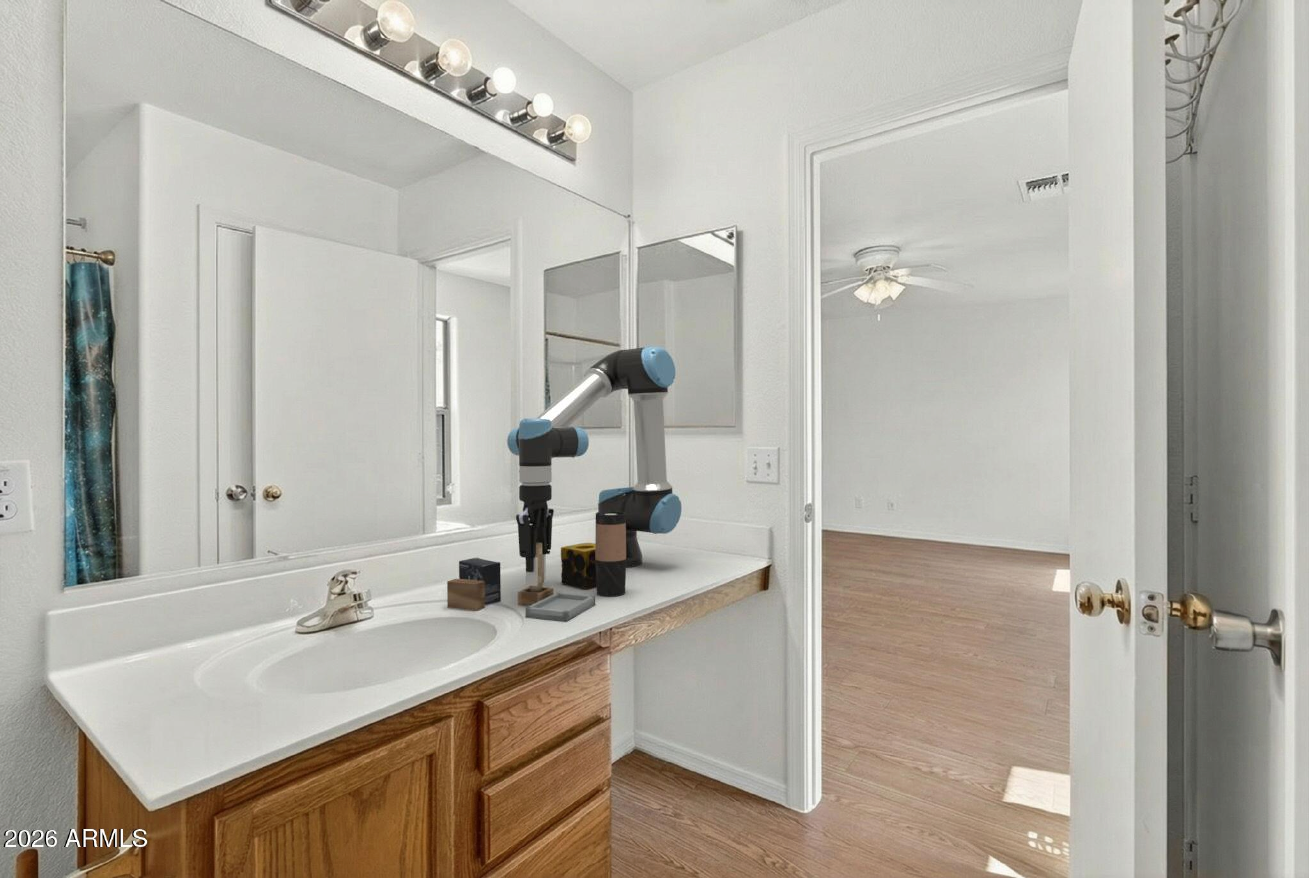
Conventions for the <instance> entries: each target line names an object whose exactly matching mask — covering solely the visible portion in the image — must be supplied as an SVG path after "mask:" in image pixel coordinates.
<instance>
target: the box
mask: <svg viewBox="0 0 1309 878" xmlns="http://www.w3.org/2000/svg"><path fill="white" fill-rule="evenodd" d="M458 579H466V580H476V581H485V606H488V605H491V604H494V603H495V604H496V603H499V602H501V599H502V597H501V595H502V594H501V592H502V590H501V589H502V588H501V583H502V582H501V562H499V561H492V560H487V559H482V558H480V557H473V558H468V559H467V558H466V559H464V560H463V559H462V560H459V561H458Z"/></svg>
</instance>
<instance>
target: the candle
mask: <svg viewBox="0 0 1309 878" xmlns="http://www.w3.org/2000/svg"><path fill="white" fill-rule="evenodd" d="M595 560H596V559H595V543H594V542H584V543H578V544H571V545H565V546H562V547H560V561H561V573H560V577H561V584H562V585H565V586H568V587H569V586H570V587H572V588H579V589H580V590H590V589H591V590H592V589H595V588H596V562H595Z"/></svg>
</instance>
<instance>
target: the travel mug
mask: <svg viewBox="0 0 1309 878" xmlns="http://www.w3.org/2000/svg"><path fill="white" fill-rule="evenodd" d="M595 559H596V560H595V562H596V594H597V595H598V596H600V597H606V598H607V597H620V596H623V595H625V594H626V580H627V579H626V576H627V575H626V574H627V573H626V572H627V567H626V514H625V512H619V511H609V512H607V513H606V514H600V512H595Z"/></svg>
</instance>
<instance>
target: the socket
mask: <svg viewBox="0 0 1309 878" xmlns="http://www.w3.org/2000/svg"><path fill="white" fill-rule="evenodd" d="M554 590H555V589H554V587H547V586H542V592H540V593H536V592H529V586H528V587H526V588H524V589H522V590H519V591H518V592H517V605H518V606H519V605H520V606H526V607H528V606H530V605H533V604H535V603H537V602H539V601H541V600H543V599H545V598H547V597H549V596H551V595H553V594H555V593H554V592H555V591H554Z"/></svg>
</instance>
